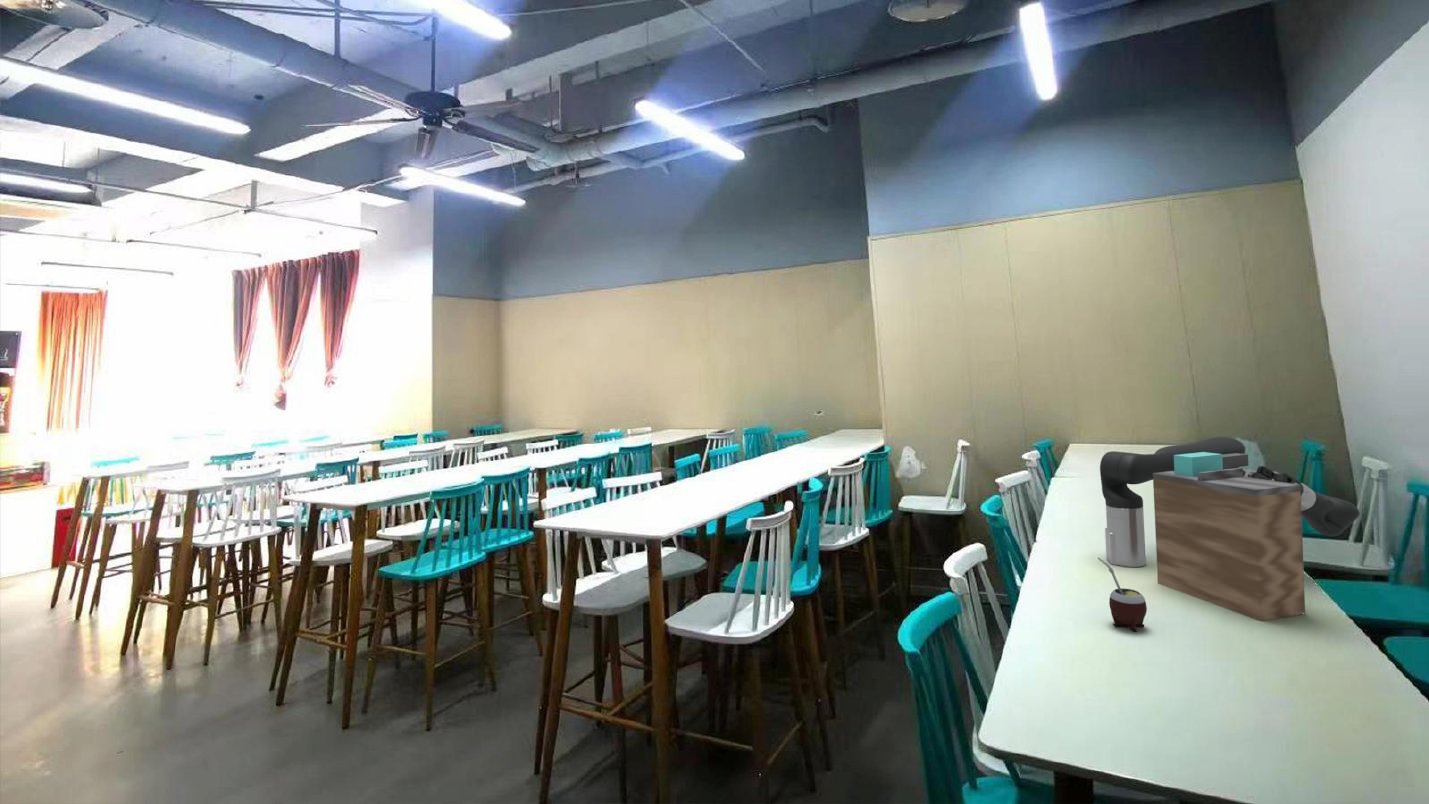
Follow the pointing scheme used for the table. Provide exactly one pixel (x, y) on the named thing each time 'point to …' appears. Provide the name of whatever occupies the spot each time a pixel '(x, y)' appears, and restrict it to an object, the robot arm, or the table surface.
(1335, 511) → the robot arm
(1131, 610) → the mate gourd
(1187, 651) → the table surface
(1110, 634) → the table surface
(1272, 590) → the cabinet
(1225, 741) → the table surface
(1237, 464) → the block
